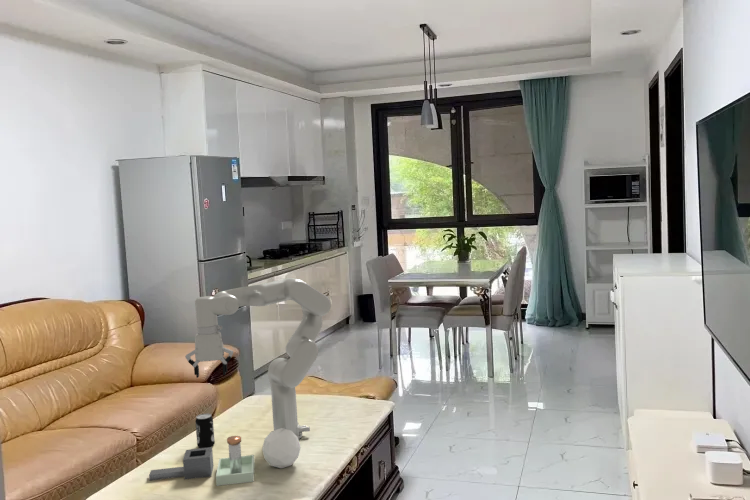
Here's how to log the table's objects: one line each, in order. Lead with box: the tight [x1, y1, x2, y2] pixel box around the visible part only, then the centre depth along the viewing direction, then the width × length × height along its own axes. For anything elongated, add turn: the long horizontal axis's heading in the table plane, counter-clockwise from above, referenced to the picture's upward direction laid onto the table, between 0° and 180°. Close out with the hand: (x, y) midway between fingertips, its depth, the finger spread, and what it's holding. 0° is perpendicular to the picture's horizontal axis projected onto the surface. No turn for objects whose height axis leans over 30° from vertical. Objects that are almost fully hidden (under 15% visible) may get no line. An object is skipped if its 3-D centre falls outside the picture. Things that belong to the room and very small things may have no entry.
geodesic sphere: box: [262, 426, 302, 469], centre depth 234 cm, size 14×14×14 cm
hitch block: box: [148, 446, 214, 481], centre depth 231 cm, size 21×9×7 cm, turn 99°
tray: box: [215, 454, 255, 487], centre depth 229 cm, size 15×12×3 cm
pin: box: [226, 435, 242, 474], centre depth 228 cm, size 5×5×12 cm
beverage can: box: [194, 413, 216, 449], centre depth 256 cm, size 7×7×12 cm
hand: (211, 375), depth 245 cm, fingers open, 9 cm apart
